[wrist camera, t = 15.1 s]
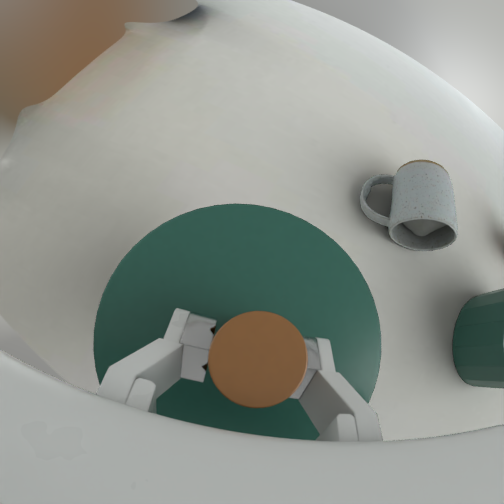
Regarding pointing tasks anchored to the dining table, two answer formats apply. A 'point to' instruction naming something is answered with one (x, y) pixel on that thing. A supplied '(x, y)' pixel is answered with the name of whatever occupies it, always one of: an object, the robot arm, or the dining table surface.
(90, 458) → the robot arm
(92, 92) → the dining table surface
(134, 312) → the tin lid
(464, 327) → the tin
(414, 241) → the ceramic mug
